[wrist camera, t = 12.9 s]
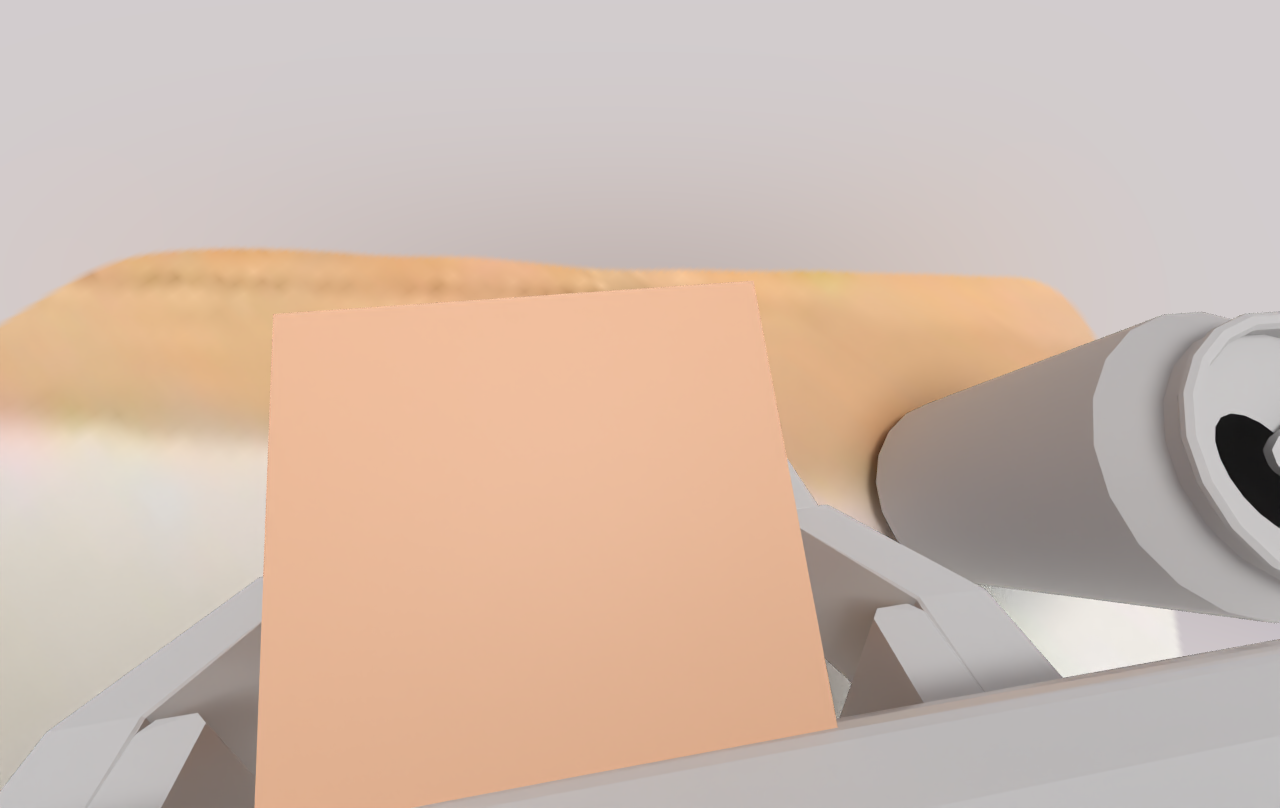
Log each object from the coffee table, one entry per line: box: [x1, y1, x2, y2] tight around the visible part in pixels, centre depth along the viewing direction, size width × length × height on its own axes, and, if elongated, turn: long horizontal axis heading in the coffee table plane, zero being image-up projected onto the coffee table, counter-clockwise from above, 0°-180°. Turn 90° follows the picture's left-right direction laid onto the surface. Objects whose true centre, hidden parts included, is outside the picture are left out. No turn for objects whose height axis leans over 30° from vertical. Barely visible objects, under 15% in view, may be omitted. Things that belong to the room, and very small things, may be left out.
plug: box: [254, 281, 838, 808], centre depth 10 cm, size 4×4×12 cm
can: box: [876, 311, 1280, 623], centre depth 17 cm, size 8×8×12 cm
